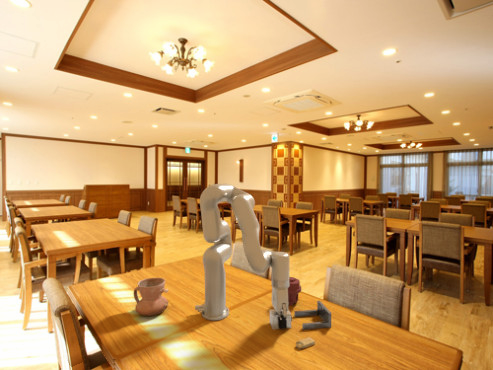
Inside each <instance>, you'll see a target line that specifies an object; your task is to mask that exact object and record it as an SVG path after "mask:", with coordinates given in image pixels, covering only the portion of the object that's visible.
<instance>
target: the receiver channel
mask: <svg viewBox="0 0 493 370" xmlns="http://www.w3.org/2000/svg"><path fill="white" fill-rule="evenodd" d="M316 304H317V305H316V307H317V309H307V310H296V311H295V310H294V315H293V316H294V317H295V318H297V317H311V316H313V317H314V316H318V317H319V318H320V319H321V320H322V321H316V322H305V323H304V322H303V323H302V327H301V328H302V330H303V331H304V330H314V329H327V328H332V312H331V311H330V310H329V308H327V307H326V305H325V304H324V303H323V302H322V300H317V303H316Z"/></svg>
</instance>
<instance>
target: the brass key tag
mask: <svg viewBox="0 0 493 370" xmlns="http://www.w3.org/2000/svg"><path fill="white" fill-rule="evenodd" d="M314 345H316V341H315V340H314V339H312V338H311V337H310V336H308V337H306V338H303V339H300V340H297V341H296V342H295V346H296V349H298V350H304V349H307V348H309V347H312V346H314Z"/></svg>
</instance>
